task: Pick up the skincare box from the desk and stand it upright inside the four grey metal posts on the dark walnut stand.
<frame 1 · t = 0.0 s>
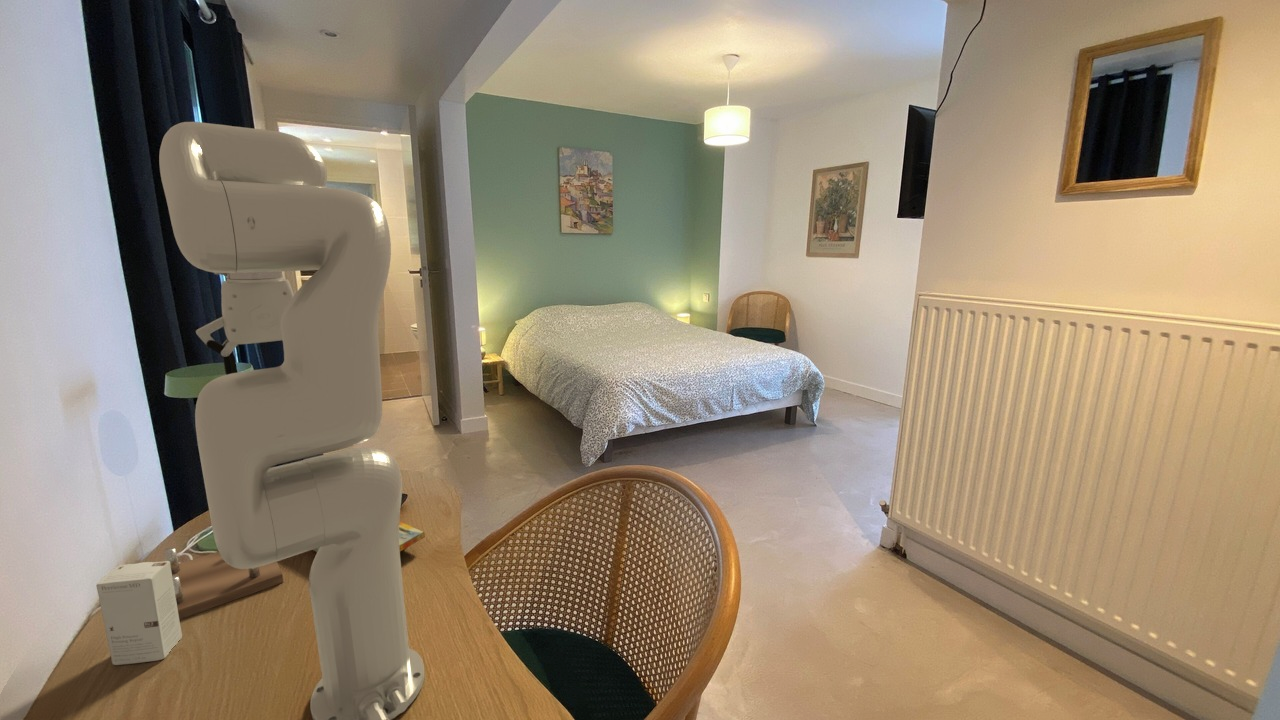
hand: (269, 373, 91), 31 cm above the table, tool pointing down, fingers open, 9 cm apart
post stand: (216, 582, 86), on the table
puzzle game: (360, 551, 95), on the table
skincare box: (151, 651, 72), on the table
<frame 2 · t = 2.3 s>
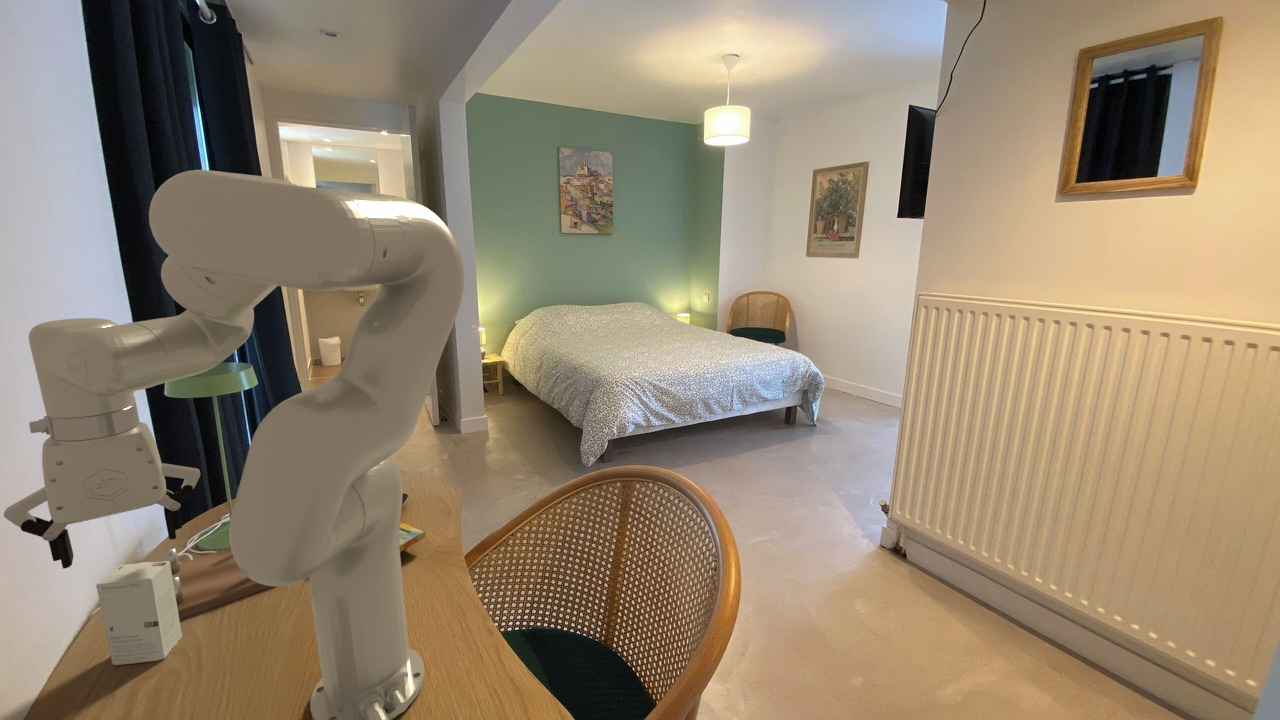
hand: (122, 548, 68), 15 cm above the table, tool pointing down, fingers open, 9 cm apart
nothing on the table moved.
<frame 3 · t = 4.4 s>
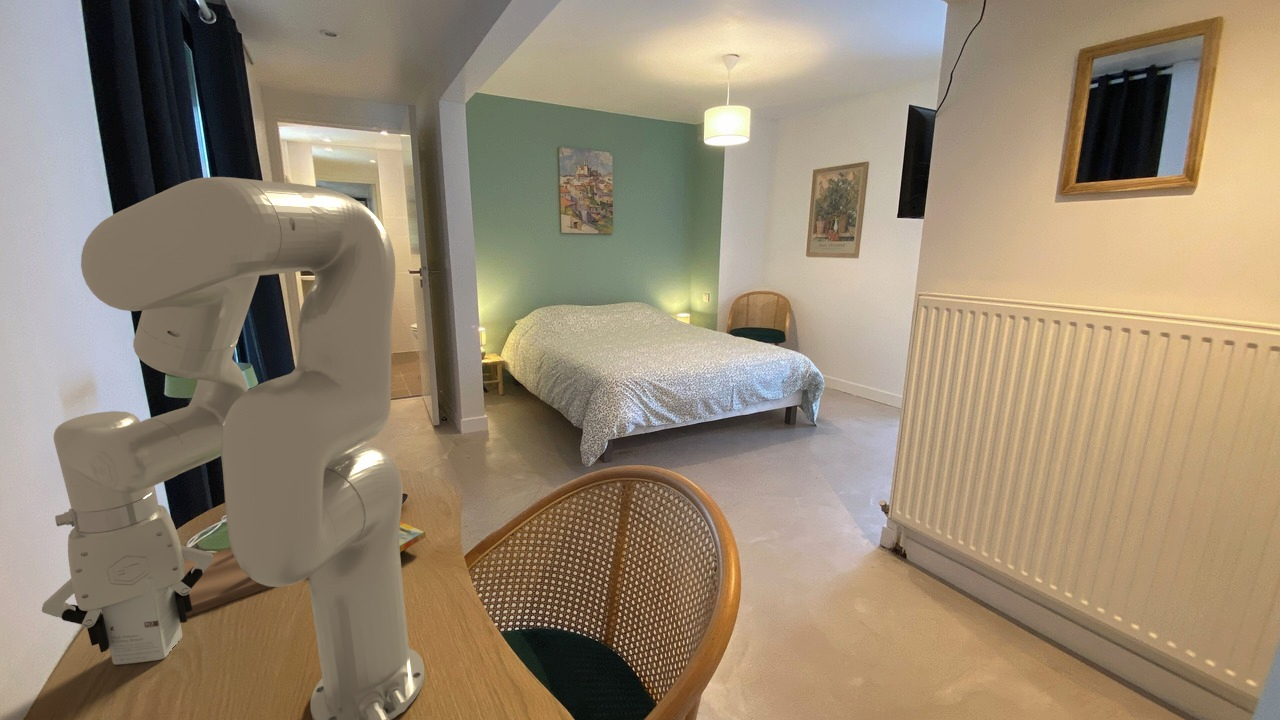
hand: (145, 630, 71), 3 cm above the table, tool pointing down, fingers closed on skincare box, 7 cm apart
skincare box: (151, 651, 72), on the table, touching gripper
everything else where it was.
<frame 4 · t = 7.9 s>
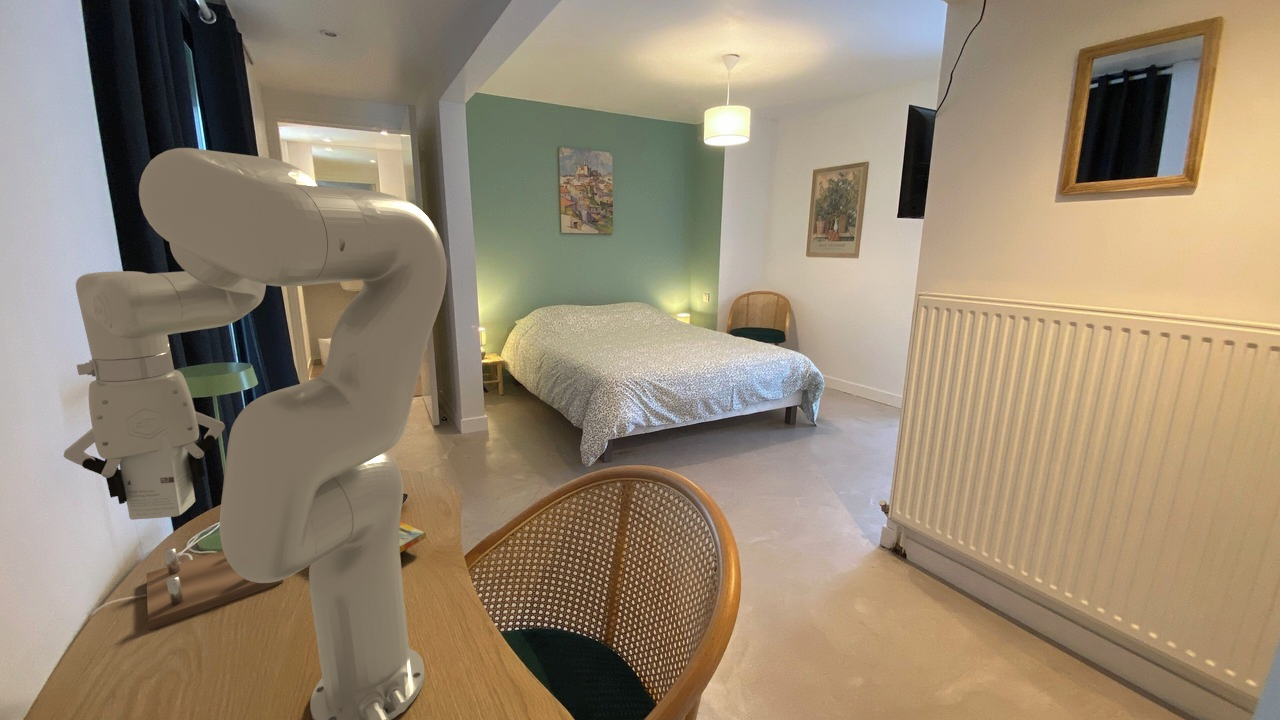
hand: (160, 489, 74), 20 cm above the table, tool pointing down, fingers closed on skincare box, 7 cm apart
skincare box: (166, 511, 75), point 16 cm above the table, touching gripper
everything else where it was.
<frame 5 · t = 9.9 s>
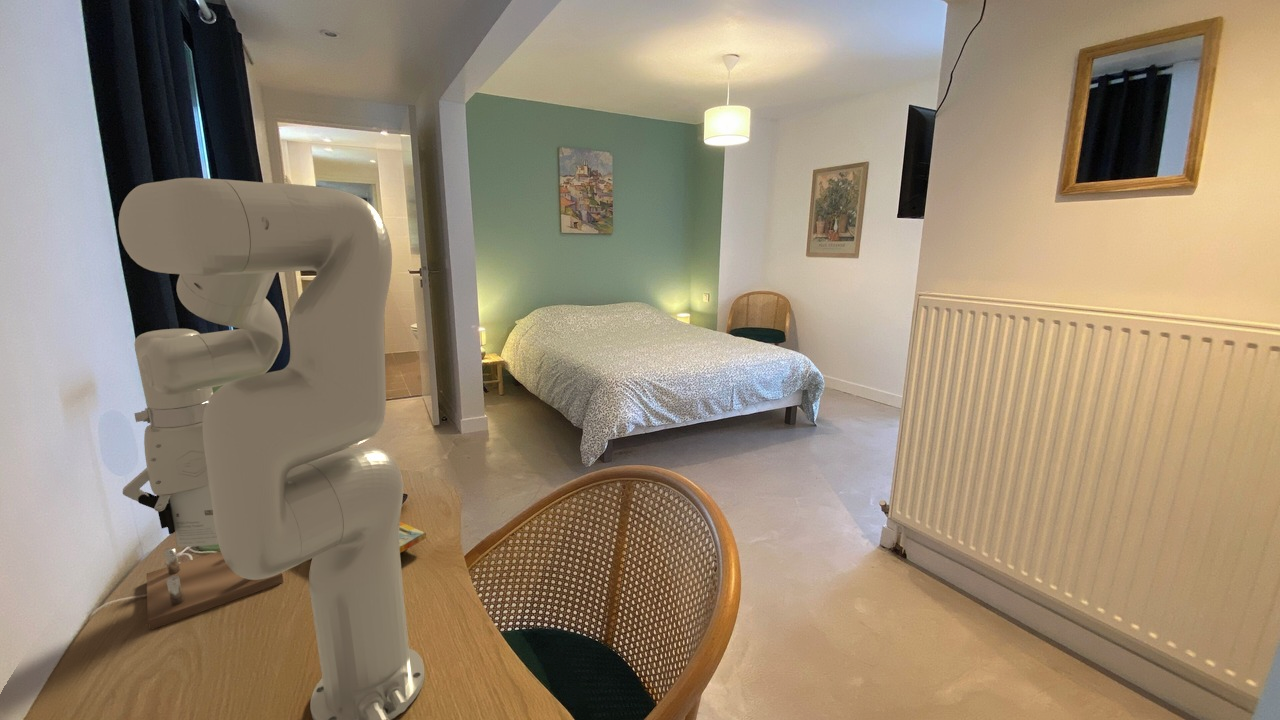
hand: (204, 520, 83), 11 cm above the table, tool pointing down, fingers closed on skincare box, 7 cm apart
skincare box: (208, 539, 84), point 8 cm above the table, touching gripper
everything else where it was.
when the fingers open (6 cm above the table, at t = 11.5 s): skincare box drops 1 cm, resting on post stand.
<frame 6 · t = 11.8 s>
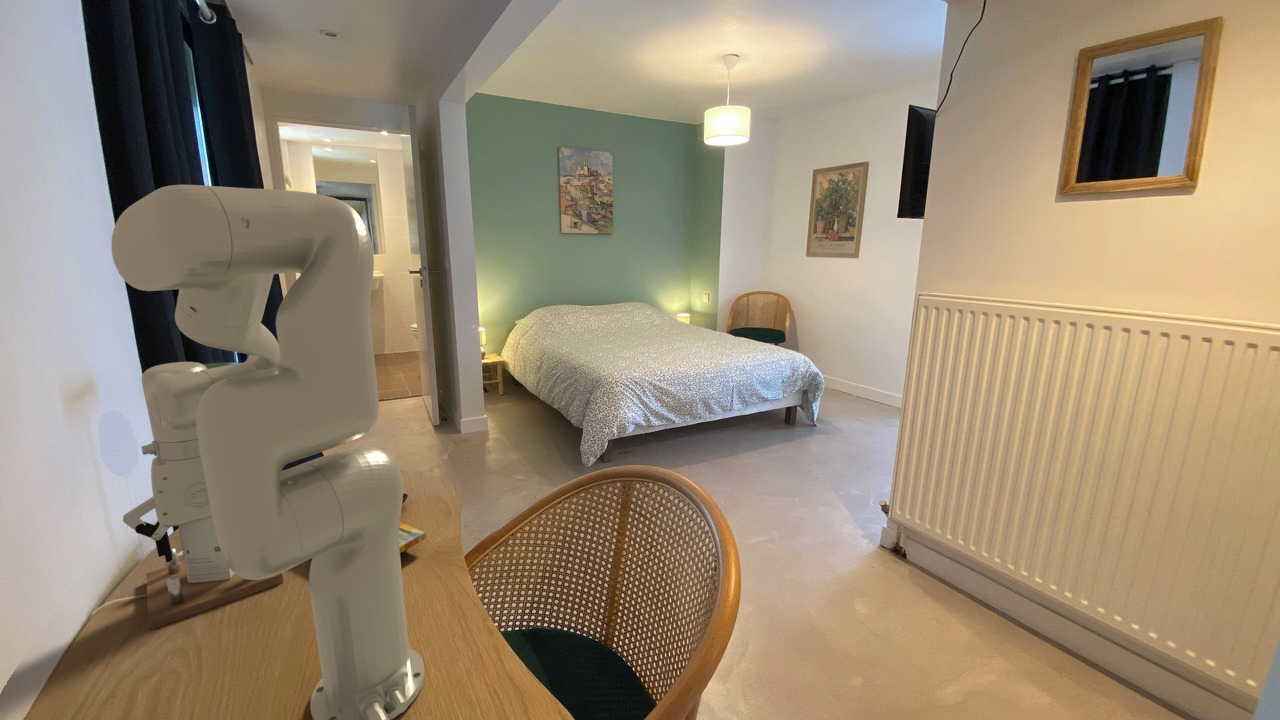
hand: (209, 546, 84), 6 cm above the table, tool pointing down, fingers open, 9 cm apart
skincare box: (217, 574, 85), point 1 cm above the table, touching post stand
everything else where it was.
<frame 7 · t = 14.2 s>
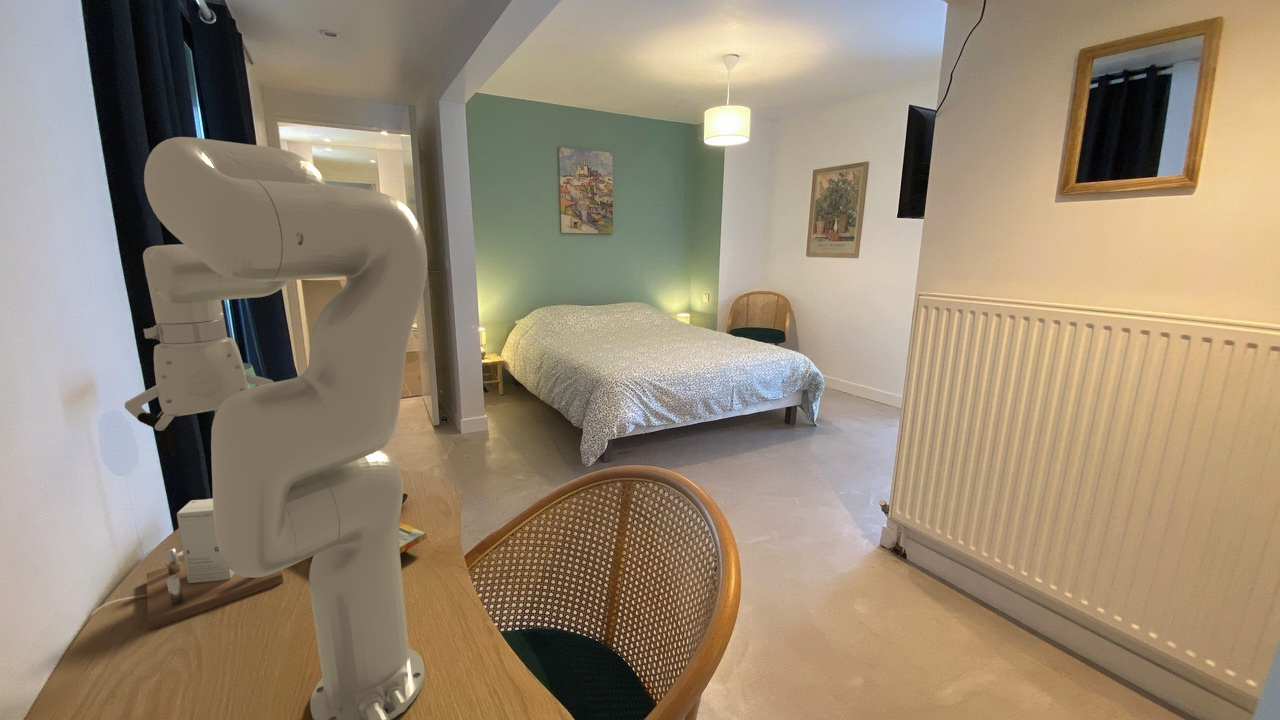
hand: (214, 444, 81), 23 cm above the table, tool pointing down, fingers open, 9 cm apart
nothing on the table moved.
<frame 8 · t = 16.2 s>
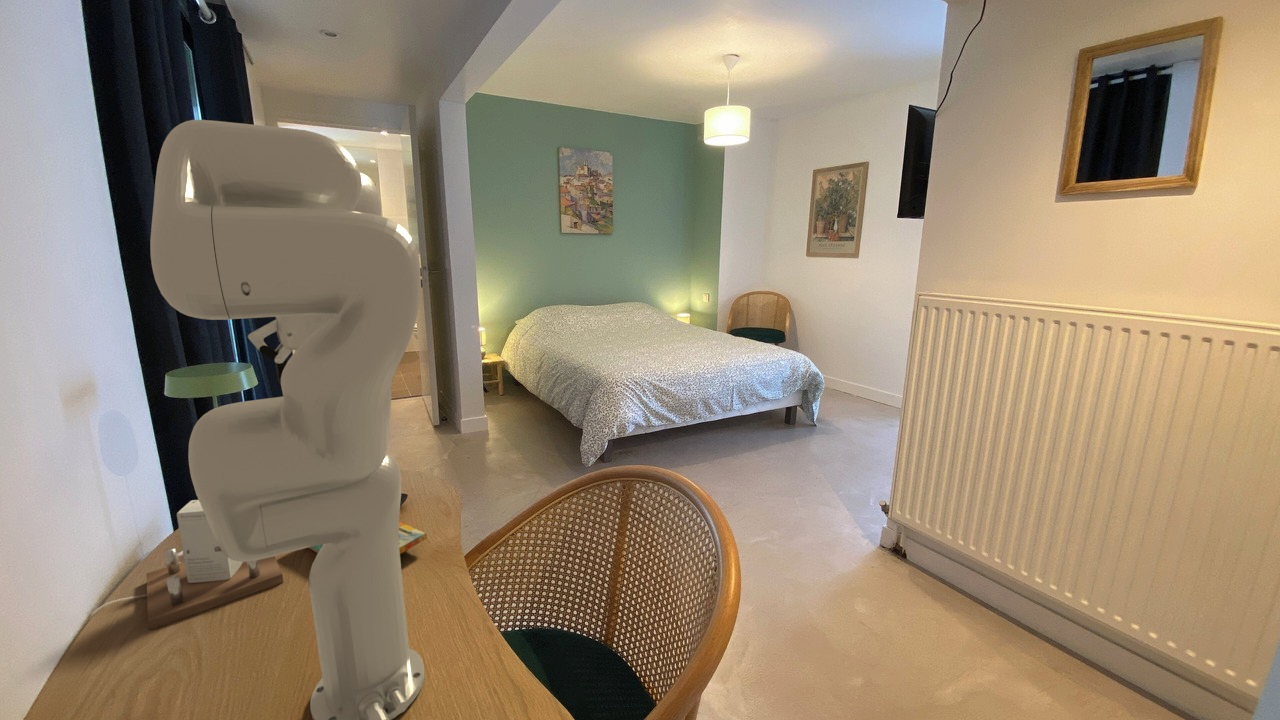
hand: (323, 381, 83), 32 cm above the table, tool pointing down, fingers open, 9 cm apart
nothing on the table moved.
at the end: skincare box 0.4 cm off-centre on the post stand, point 1.3 cm above the post stand's base; skincare box tilted 0°; the gripper is holding nothing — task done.
